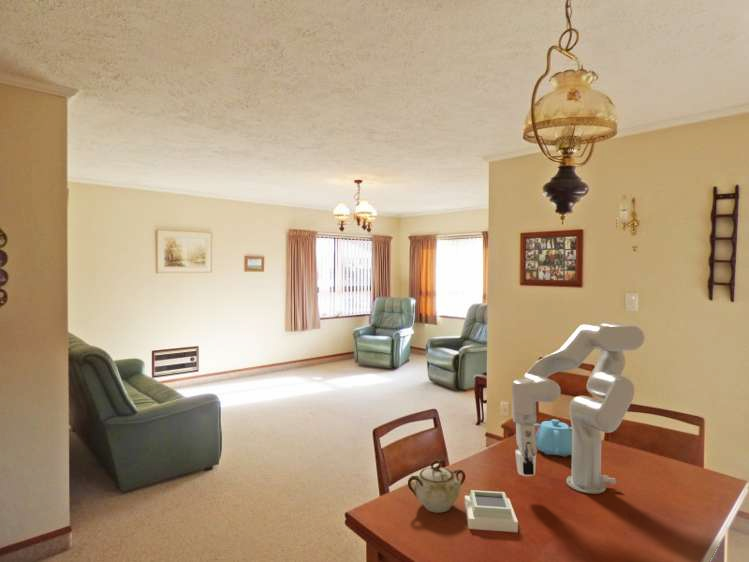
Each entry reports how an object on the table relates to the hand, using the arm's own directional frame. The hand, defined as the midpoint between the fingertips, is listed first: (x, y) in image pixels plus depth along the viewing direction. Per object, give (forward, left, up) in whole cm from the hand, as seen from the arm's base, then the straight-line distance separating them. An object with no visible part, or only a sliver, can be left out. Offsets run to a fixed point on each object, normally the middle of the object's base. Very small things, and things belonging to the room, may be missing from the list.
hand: (526, 469), depth 151 cm
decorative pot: (-21, -42, -9) cm, 47 cm away
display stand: (+14, +15, -9) cm, 23 cm away
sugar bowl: (+30, +10, -9) cm, 33 cm away
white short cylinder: (0, 0, -1) cm, 1 cm away
